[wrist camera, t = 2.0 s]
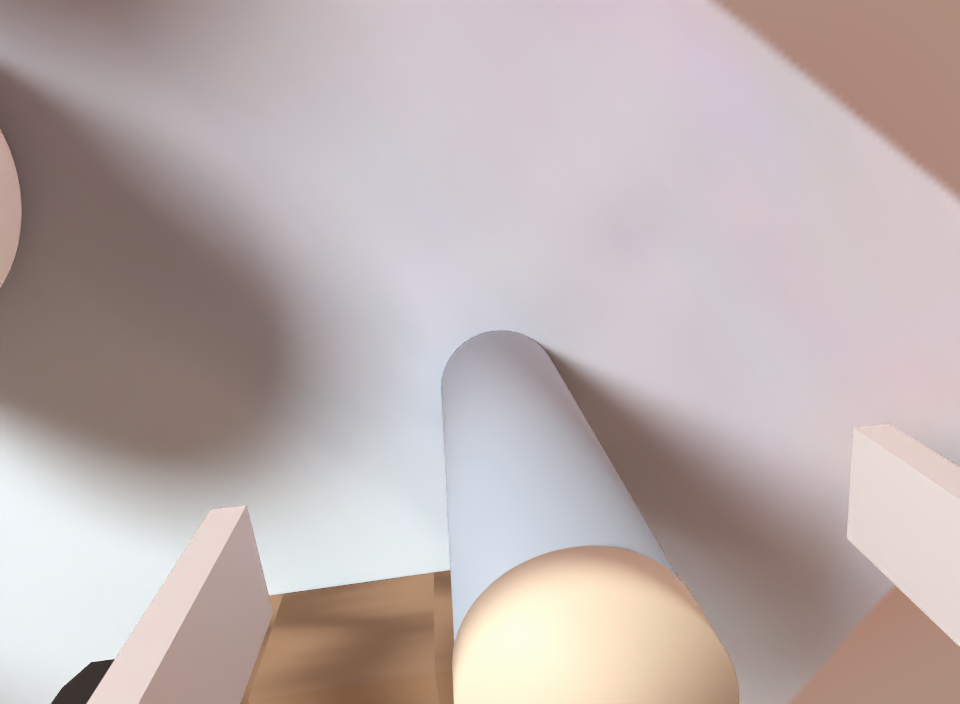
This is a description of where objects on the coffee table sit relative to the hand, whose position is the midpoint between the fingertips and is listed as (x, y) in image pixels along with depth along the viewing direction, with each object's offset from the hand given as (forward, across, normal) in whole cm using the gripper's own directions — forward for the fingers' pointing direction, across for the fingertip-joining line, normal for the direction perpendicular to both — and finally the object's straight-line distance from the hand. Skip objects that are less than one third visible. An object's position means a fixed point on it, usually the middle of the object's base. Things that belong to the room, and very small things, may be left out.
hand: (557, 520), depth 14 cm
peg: (+9, 0, 0) cm, 9 cm away
